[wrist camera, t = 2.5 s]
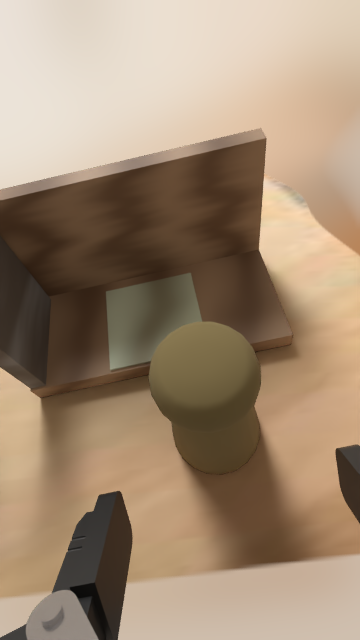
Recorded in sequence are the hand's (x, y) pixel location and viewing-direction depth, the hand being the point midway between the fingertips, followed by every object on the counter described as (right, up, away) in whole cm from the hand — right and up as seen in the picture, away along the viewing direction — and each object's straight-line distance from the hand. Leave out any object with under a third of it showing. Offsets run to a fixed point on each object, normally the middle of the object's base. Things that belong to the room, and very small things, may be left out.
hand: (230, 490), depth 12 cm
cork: (+1, -1, +11) cm, 12 cm away
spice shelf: (-4, +6, +17) cm, 18 cm away
